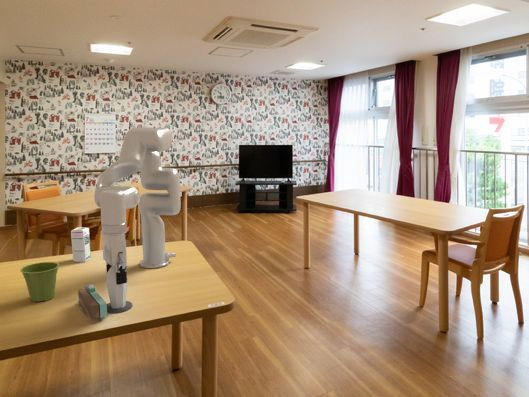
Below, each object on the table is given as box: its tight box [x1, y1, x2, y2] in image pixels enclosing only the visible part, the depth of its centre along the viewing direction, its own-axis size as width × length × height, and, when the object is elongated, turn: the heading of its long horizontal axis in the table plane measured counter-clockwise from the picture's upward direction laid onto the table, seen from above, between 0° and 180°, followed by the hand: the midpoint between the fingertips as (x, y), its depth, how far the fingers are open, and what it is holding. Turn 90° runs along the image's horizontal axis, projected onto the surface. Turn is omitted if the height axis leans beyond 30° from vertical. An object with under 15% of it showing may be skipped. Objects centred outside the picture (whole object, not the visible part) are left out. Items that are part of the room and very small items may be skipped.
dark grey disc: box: [107, 300, 133, 314], centre depth 136 cm, size 9×9×1 cm
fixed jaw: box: [77, 284, 100, 324], centre depth 132 cm, size 5×18×6 cm, turn 38°
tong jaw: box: [88, 285, 108, 319], centre depth 131 cm, size 2×14×6 cm, turn 37°
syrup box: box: [70, 226, 92, 263], centre depth 183 cm, size 6×6×14 cm
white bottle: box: [106, 262, 128, 309], centre depth 134 cm, size 6×6×22 cm
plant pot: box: [20, 261, 60, 303], centre depth 141 cm, size 12×12×11 cm
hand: (116, 279), depth 134 cm, fingers open, 9 cm apart
